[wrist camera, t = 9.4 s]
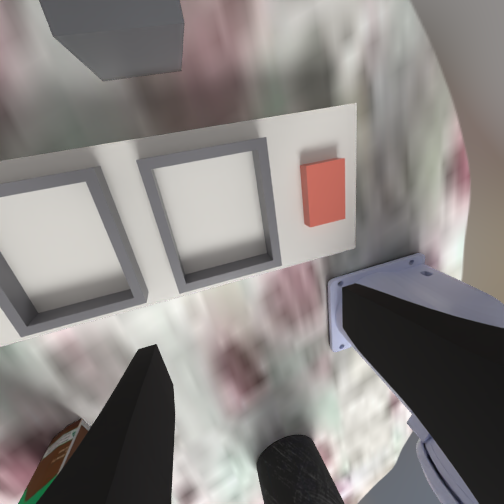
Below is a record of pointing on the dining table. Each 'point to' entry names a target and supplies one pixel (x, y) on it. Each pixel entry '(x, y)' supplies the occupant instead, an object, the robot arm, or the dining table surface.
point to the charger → (119, 35)
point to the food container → (54, 460)
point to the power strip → (170, 216)
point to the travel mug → (295, 474)
